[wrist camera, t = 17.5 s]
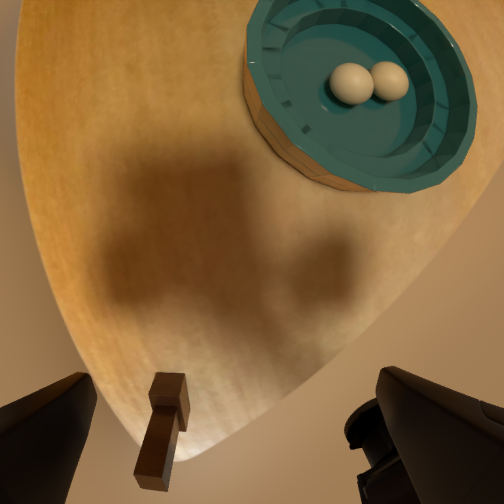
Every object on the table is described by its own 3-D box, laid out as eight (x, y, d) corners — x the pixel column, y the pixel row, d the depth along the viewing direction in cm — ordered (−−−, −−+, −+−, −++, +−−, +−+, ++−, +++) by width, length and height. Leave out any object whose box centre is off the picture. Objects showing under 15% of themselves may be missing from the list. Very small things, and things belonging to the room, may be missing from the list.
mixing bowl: (437, 197, 20) (482, 201, 15) (243, 188, 19) (247, 187, 14) (419, 30, 17) (452, 7, 12) (243, -1, 16) (246, -44, 11)
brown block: (190, 408, 23) (175, 500, 13) (163, 407, 23) (140, 495, 13) (184, 373, 22) (163, 468, 12) (156, 372, 22) (122, 462, 12)
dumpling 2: (411, 109, 17) (405, 89, 14) (372, 106, 19) (361, 87, 16) (411, 76, 17) (404, 54, 14) (374, 75, 18) (363, 53, 16)
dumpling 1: (321, 102, 18) (361, 116, 18) (332, 86, 15) (378, 103, 15) (328, 68, 17) (367, 81, 18) (339, 49, 15) (382, 65, 15)
